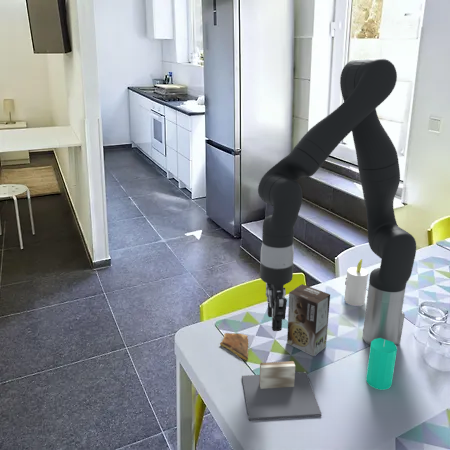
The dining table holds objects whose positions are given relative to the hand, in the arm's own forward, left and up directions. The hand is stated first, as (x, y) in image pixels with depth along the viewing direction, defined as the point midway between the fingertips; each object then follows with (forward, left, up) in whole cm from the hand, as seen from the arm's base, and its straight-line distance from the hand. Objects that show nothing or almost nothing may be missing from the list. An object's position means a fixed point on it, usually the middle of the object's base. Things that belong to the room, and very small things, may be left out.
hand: (274, 322), depth 113 cm
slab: (0, +7, -13) cm, 15 cm away
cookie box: (-11, -9, -14) cm, 20 cm away
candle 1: (-32, -31, -14) cm, 47 cm away
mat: (0, +10, -13) cm, 17 cm away
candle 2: (-25, +7, -14) cm, 29 cm away
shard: (+7, -10, -14) cm, 19 cm away
